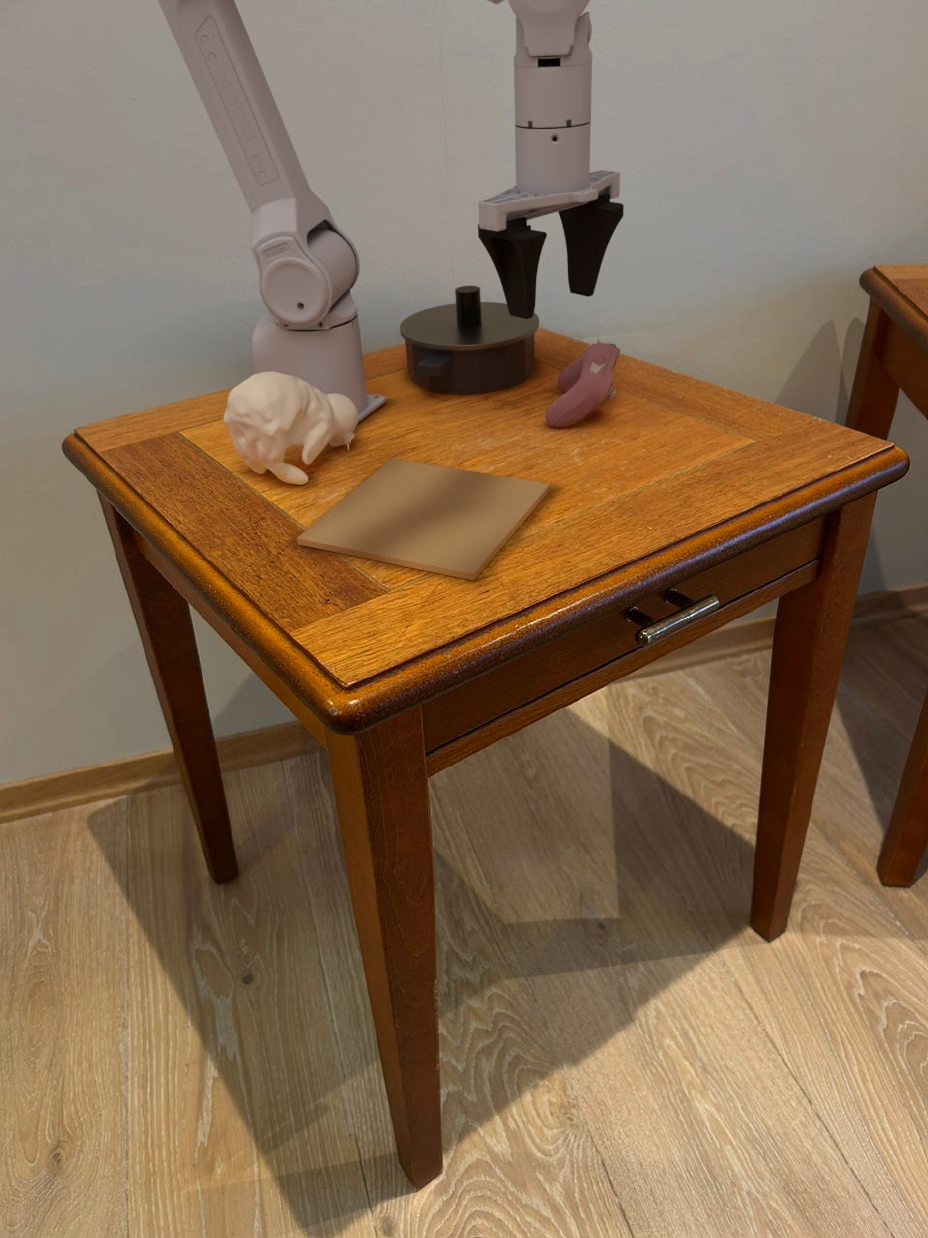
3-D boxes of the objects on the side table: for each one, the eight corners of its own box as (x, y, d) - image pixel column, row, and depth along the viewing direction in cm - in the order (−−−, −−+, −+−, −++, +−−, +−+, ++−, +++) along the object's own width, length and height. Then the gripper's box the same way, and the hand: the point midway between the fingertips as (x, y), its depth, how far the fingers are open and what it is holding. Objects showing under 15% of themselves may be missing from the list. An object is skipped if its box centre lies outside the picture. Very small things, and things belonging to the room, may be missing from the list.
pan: (372, 395, 93) (367, 350, 90) (454, 337, 106) (452, 296, 104) (492, 411, 88) (490, 364, 86) (562, 348, 101) (562, 305, 99)
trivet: (297, 544, 70) (296, 537, 69) (391, 465, 80) (391, 458, 79) (474, 581, 64) (473, 573, 64) (550, 490, 74) (550, 483, 74)
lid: (375, 349, 93) (370, 303, 90) (439, 307, 103) (436, 266, 100) (505, 363, 87) (504, 315, 85) (559, 318, 97) (559, 274, 95)
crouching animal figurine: (209, 375, 74) (320, 344, 82) (222, 480, 78) (327, 440, 87) (266, 390, 71) (376, 356, 79) (277, 499, 75) (380, 456, 83)
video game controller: (586, 448, 84) (626, 379, 80) (539, 424, 84) (577, 354, 80) (596, 404, 92) (633, 340, 88) (554, 383, 92) (588, 317, 88)
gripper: (526, 141, 67) (528, 336, 74) (654, 113, 75) (644, 292, 82) (455, 134, 71) (464, 319, 79) (583, 108, 79) (580, 278, 87)
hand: (552, 304), depth 81 cm, fingers open, 7 cm apart
